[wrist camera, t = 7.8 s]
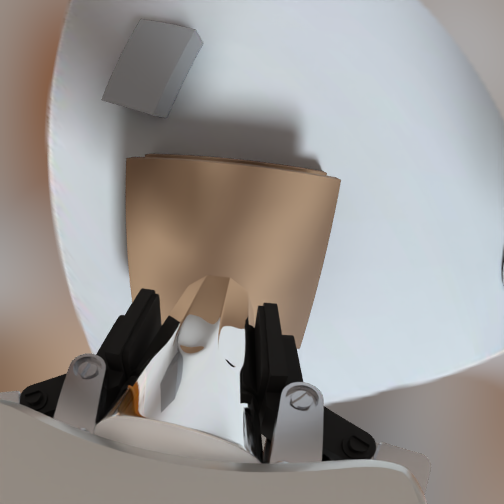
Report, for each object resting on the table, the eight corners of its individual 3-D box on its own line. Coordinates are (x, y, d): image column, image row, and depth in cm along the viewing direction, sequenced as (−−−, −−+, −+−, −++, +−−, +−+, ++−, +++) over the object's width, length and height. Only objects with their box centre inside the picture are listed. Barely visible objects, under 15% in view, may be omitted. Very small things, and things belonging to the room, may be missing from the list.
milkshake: (151, 253, 12) (7, 446, 2) (272, 265, 12) (276, 534, 2) (160, 333, 13) (86, 505, 4) (262, 345, 13) (253, 546, 4)
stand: (322, 171, 18) (340, 179, 14) (293, 316, 23) (299, 348, 19) (150, 153, 17) (126, 158, 14) (151, 300, 22) (136, 329, 18)
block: (203, 44, 14) (195, 29, 12) (167, 118, 17) (153, 115, 14) (155, 32, 14) (140, 18, 11) (121, 103, 16) (101, 100, 13)
